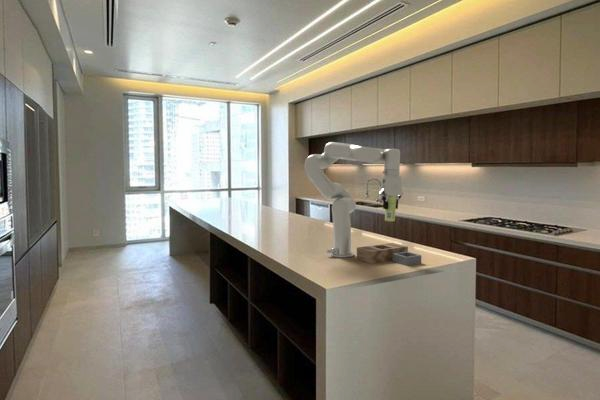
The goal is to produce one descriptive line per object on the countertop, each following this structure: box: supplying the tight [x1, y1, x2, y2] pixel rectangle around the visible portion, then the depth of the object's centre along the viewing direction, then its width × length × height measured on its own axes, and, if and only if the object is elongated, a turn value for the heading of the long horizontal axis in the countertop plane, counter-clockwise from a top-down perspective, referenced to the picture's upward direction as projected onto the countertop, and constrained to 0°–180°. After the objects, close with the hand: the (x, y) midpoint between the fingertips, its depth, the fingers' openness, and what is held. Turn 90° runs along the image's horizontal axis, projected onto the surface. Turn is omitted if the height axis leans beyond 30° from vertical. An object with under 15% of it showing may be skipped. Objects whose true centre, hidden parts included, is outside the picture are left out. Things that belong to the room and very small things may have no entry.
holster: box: [392, 251, 422, 267], centre depth 188 cm, size 9×10×4 cm
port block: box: [356, 242, 409, 264], centre depth 198 cm, size 24×12×6 cm, turn 116°
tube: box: [384, 196, 397, 222], centre depth 192 cm, size 6×5×20 cm
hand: (390, 208), depth 193 cm, fingers closed on tube, 5 cm apart
